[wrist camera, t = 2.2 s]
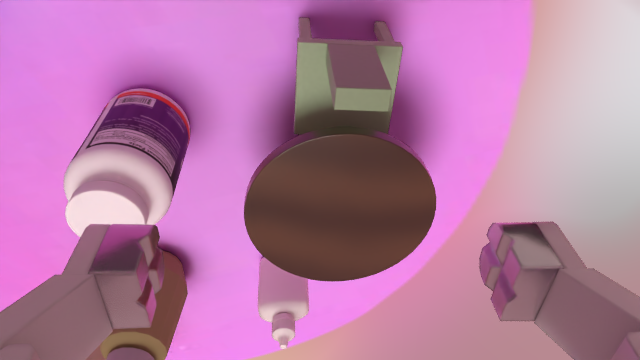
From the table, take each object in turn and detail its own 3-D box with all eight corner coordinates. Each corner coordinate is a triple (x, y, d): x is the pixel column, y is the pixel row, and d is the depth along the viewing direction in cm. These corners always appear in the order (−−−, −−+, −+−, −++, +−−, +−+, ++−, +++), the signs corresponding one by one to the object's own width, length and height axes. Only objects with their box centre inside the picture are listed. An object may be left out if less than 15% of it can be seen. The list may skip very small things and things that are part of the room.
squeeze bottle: (112, 246, 56) (52, 394, 41) (181, 236, 55) (145, 383, 41) (137, 291, 61) (91, 439, 46) (200, 283, 60) (174, 428, 46)
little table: (249, 67, 44) (241, 131, 35) (422, 74, 45) (456, 136, 36) (252, 204, 53) (246, 281, 44) (395, 206, 55) (416, 281, 46)
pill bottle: (150, 169, 50) (109, 275, 38) (87, 113, 46) (20, 213, 34) (210, 130, 47) (186, 229, 36) (149, 67, 43) (100, 156, 32)
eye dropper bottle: (297, 278, 61) (299, 364, 51) (255, 266, 59) (249, 353, 50) (311, 255, 59) (317, 340, 49) (268, 242, 57) (265, 328, 47)
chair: (296, 14, 41) (300, 86, 30) (388, 18, 42) (426, 90, 31) (292, 98, 46) (295, 188, 35) (375, 101, 47) (405, 190, 35)
